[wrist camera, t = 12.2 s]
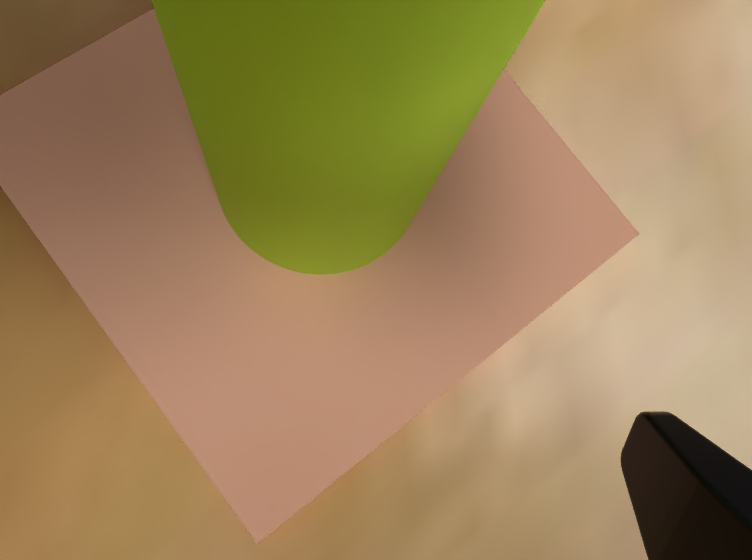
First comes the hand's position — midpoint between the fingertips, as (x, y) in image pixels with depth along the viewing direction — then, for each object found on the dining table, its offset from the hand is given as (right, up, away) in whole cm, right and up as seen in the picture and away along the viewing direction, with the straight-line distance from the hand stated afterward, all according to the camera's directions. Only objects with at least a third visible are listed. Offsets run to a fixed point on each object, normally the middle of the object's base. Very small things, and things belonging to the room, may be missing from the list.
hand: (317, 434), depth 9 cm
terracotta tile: (-1, +5, +11) cm, 12 cm away
